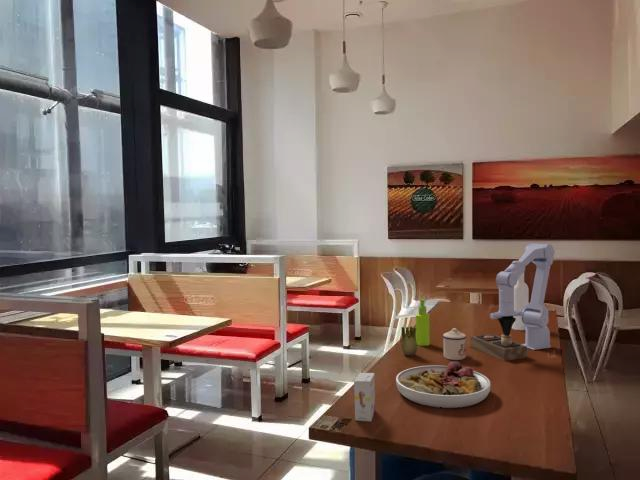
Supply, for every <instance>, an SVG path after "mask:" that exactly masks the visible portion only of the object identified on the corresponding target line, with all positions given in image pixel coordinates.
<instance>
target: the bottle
mask: <svg viewBox="0 0 640 480" xmlns="http://www.w3.org/2000/svg"><path fill="white" fill-rule="evenodd" d="M529 291H530V290H529V286H528V284H527V283H526V282H525V271H524V272H523V273H522V274H521V275H520V276H519V279H518V281H517V284H516V285H515V286H514V311H518V310H520V311H523V310H524V306H525V305H527V304H528V303H529V300H530V299H529ZM513 317H514V318H516V320H515V322H514V323H513V325H512V328H511V330H515V331H526V326H524V323H523V322H522V320H521V316H513Z"/></svg>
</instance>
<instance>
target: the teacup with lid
mask: <svg viewBox="0 0 640 480" xmlns="http://www.w3.org/2000/svg"><path fill="white" fill-rule="evenodd" d="M442 339H443V341H442V342H443V358H445V359H447V360H452V361H459V360H460V361H461V360H464V359H466V355H467V353H466V350H467V348H466V344H467V343H466V341H467V340H466V339H467V335H466V334H465V333H464V332H460V331H459V330H458V329H457V328H455V327H454V328H452V329H451V330H450V331H448V332H444V333H443V335H442Z"/></svg>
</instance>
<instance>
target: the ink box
mask: <svg viewBox="0 0 640 480" xmlns="http://www.w3.org/2000/svg"><path fill="white" fill-rule="evenodd" d="M353 387H354V390H353V391H354V421H361V422H372V420H373V417H374V414H375V412H376V403H375V402H376V399H375V398H376V394H375V393H376V391H375V390H376V389H375V373H374V372H359V373H358V374H357V376H356V377H355V379H354V381H353Z"/></svg>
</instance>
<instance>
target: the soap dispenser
mask: <svg viewBox="0 0 640 480" xmlns="http://www.w3.org/2000/svg"><path fill="white" fill-rule="evenodd" d="M425 300H426V298H420V299H419V302H420V305H419V306H418V313H416V314H415V328H416V343H417V346H421V347H423V346H425V347H426V346H429V345H430V344H431V343H430V342H431V341H430V338H431V337H430V314H429V313H427V306H426V305H425Z"/></svg>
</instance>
